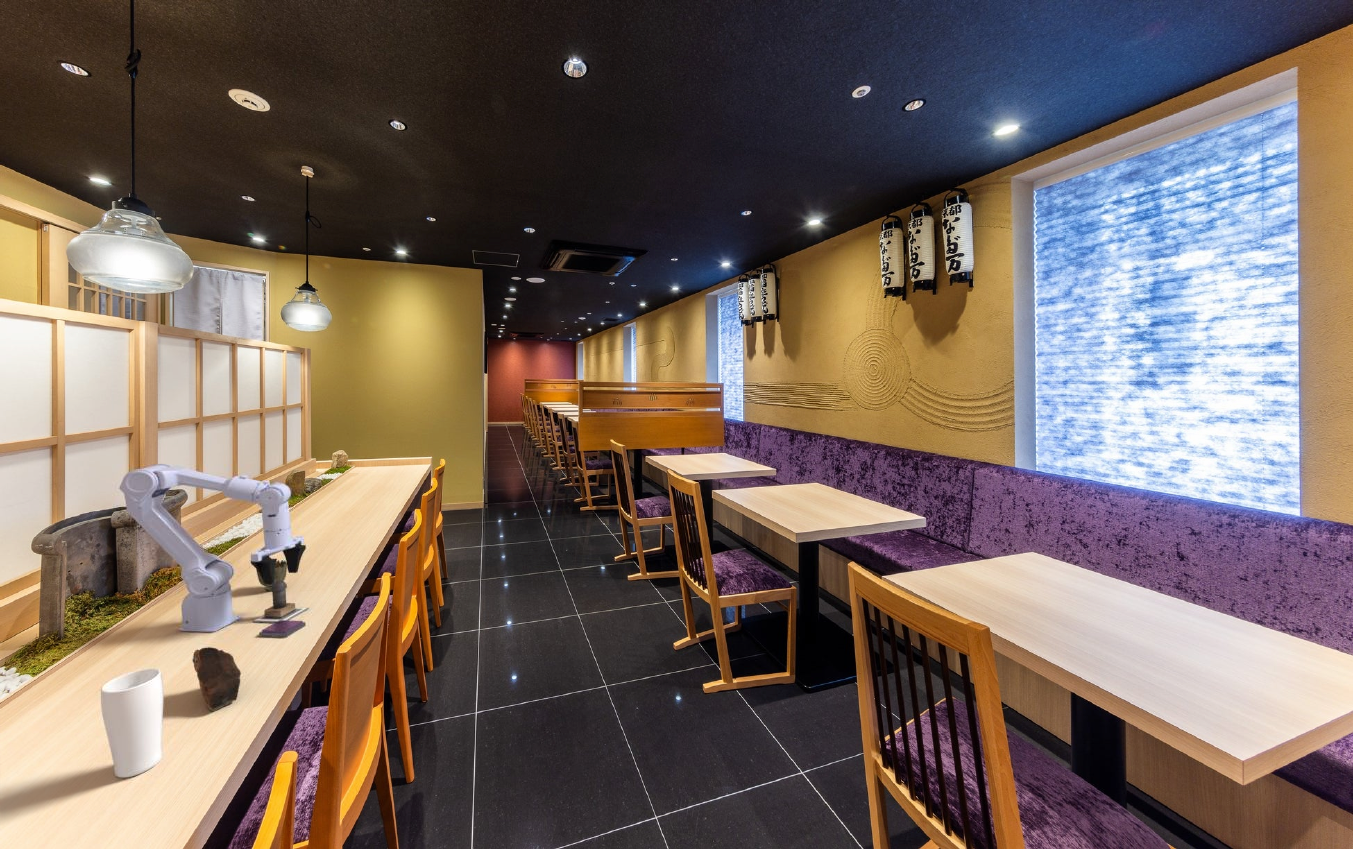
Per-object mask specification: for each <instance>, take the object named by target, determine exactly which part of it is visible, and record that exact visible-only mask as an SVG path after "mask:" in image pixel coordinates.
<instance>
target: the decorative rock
mask: <svg viewBox="0 0 1353 849" xmlns="http://www.w3.org/2000/svg"><path fill="white" fill-rule="evenodd" d="M191 661H192V662H193V668H194V671H195V672H196V673H197V674H196V676H197V680H198V683H199V688H200V692H201V695H202V697H203V700H204V703H205V707H206V708H207V709H208V710H209V711H212V712H216V711H218V710H219V709H222V708H224V707H225V706H227V705H230V704H231V703H233V702H234V701H236V700H237V698H238V695H239V694H238V693H239V689H240V685H241V684H240V683H241V674H242V672H241V670H240V669H239V667H238V665H237V664H236V662H235V659H234V656H233V655H232V654H231V653H229V652H226V651H224V650H222V649H218V648H216V647H212V646H211V647H209V646H207V647H202V648H200V649H195V651H194V652H193V655H192V660H191Z"/></svg>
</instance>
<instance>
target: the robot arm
mask: <svg viewBox="0 0 1353 849" xmlns="http://www.w3.org/2000/svg"><path fill="white" fill-rule="evenodd" d="M180 486H187V487H192V488H199V489H205V490H212V491H218V492H222V494H223V495H224V496H225V497H226V498H227V499H233V500H237V501H242V502H243V501H244V502H246V503H247V502H248V503H253V504H257V505H258V506H259V507H260V508H261V519H262V531H263V542H264V546H263V547H261V548H260V549H258V550H257V551H255V552H253V553H251V554H250V565H252V566H253V567H254V568H255V570H256V569H257V571H258V572H259V574H260V575H261V577H262V580H263V582H264V584H273V583H274V570H275V564H276V563H277V561H278V559H277V558H272V557H271V556H273V555H276V554H278V553H283V556H284V558H285V561H286V562H287V572H288V573H289V574H297V573H298V571H299V567H300V564H301V563H300V562H301V559H302V557H303V554H304V552H305V551H306V549H307V545H306V544H305V536H300V535H299V536H295V537H292V526H291V525H292V524H291V516H290V513H291V512H290V508H289V507H290V506H289V499H290V498H291V495H292V489H291V488H290V487H289V485H287V484H285V483H282V482H280V481H276V482H272V483H270V480H264V481H262V480H261V481H260V480H257V479H251V478H249V475H245V474H241V475H240V476H239V475H235V476H233V477H231V478H224V477H220V476H217V475H214V474H209V473H205V472H201V471H197V470H193V469H191V468H186V467H183V466H178V465H169V464H166V463H157V464H153V465H150V466H148V467H144V468H138V469H133V470H130V471H129V472H127V473H126V474H125V475H124V476H123V479H122V481H121V483H120V485H119V488H118V489H119V491H120V492H122V494H123V496H124V501H125V508H126V511H127V512H128V514H129V515H130V517H132V519H134V520H135V522H136V523H138V524H139V525H140V526H141V527H142V529H144V530H145V532H146V533H147V534H148V535H149V536H150V537H151V538H152V539H153V540H155V542H156V543H157V544H158V546H160V547H161V548H162V549H163V550H164V551H165V552H166V553H167V554H168V555H169V556H170V557H171V558H172V559H173V560H174V561H175V562H176V563H177V564H178V566H180V567H181V574H180V577H181V579H182V580H183V581H184V582H185V585H186V589H187V591H188V593H187V595H186V596H184V598H183V600H182V602H181V618H182V627H180V628H179V631H180V632H201V633H203V632H205V633H206V632H207V633H214V632H217V631H219V630H221V629H222V628H224V627H227V626H229V625H230V624H233V623H235V622H237V621H238V620H241V619H242V618H243V615H233V598H232V585H231V584H230V583H231V582H230V580H231V579H232V578H233V577H234V574H235V568H234V566H233V565H232V564H231V563H230V562H229V561H225V560H222V559H221V558H220V557H219V556H218V555H216V554H213V553H209V552H207V551H206V550H205V549H204V548H203V547H202V546H201V545H200V544H199V543H198V542H197V541H196V540H195V539H194V538H193V536H192V535H190V533H189V532H188V531H186V529H185V528H184V527H183V526H182V525H181V524H180V523H179V522H178V520H176V519H175V518H174V517H173V515H172V514H171V513H170V512H168V510H166V508H165V507H164V506H163V505H162V504H163V501H164V500H165V497H166V494H167V493H168V492H169V490H170V489H171V488H174V487H180ZM257 571H256V572H257Z"/></svg>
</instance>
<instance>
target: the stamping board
mask: <svg viewBox="0 0 1353 849" xmlns="http://www.w3.org/2000/svg"><path fill="white" fill-rule="evenodd" d="M309 609H310V607H301V606H300V607H298V606H295V610H296V611H295V612H293V613H291V614H289V615H287V616H286V617H284V618H282V619H271V618H265V614H264V615H261V616H260V617H258V618H256V619H254V620H252V623H254V622H256V623H257V622H262V623H261V624H274V623H276V622H277V621H279V620H289V621H291V620H292V619H294V618H295V617H298V616H299V615H301V614H302V613H305V612H307V611H308V610H309ZM256 623H255V624H256Z"/></svg>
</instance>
